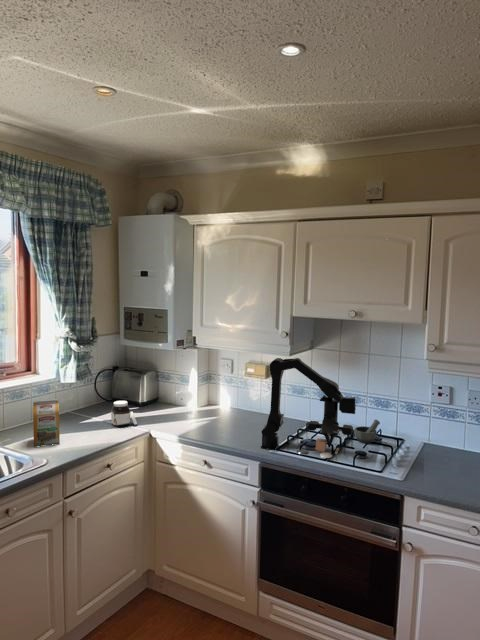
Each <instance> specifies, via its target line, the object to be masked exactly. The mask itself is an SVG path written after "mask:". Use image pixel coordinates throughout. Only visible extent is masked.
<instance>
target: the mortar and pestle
mask: <svg viewBox="0 0 480 640" xmlns="http://www.w3.org/2000/svg"><path fill="white" fill-rule="evenodd" d="M380 424H381V422H380V420H378V419H373V422H372V423H371V425H370V426H356V427H353V433H354V436H355V438H356V440H357V441H358V442H359V443H361V444H366V445H367V444H372V442H373V441H374V440H375V439H376V437H377V428H378V426H379V425H380Z"/></svg>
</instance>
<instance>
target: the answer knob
mask: <svg viewBox="0 0 480 640" xmlns="http://www.w3.org/2000/svg"><path fill="white" fill-rule="evenodd" d="M327 447H328V444H327V441H326V438H317V439H316V440H315V451H318V452H326V451H327V449H328V448H327Z"/></svg>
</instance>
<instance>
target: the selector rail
mask: <svg viewBox="0 0 480 640" xmlns="http://www.w3.org/2000/svg"><path fill="white" fill-rule="evenodd" d="M301 445H302V443H301V442H298V443H297V444H296V446H295V447H294V448H295V449H297V450H299V447H300V446H301ZM339 451H340V448H339V447H337V448H336V449H335V452H334V454H335V455H338V452H339Z"/></svg>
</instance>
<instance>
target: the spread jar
mask: <svg viewBox="0 0 480 640" xmlns="http://www.w3.org/2000/svg"><path fill="white" fill-rule="evenodd" d="M110 410H111V411H110V412H111V413H110V417H111V418H110V420H111V423H112V426H113V427H115V428H124V427H127V426H129V425H130V423H131V419H132V422H133V424H134V426H136V425H137V424H138V423H137V420H136V417H135V414H134V412H133V411H131V409H130V406H128V401H127V400H116V401H114V402H113V406H112V407H111V409H110Z"/></svg>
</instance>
